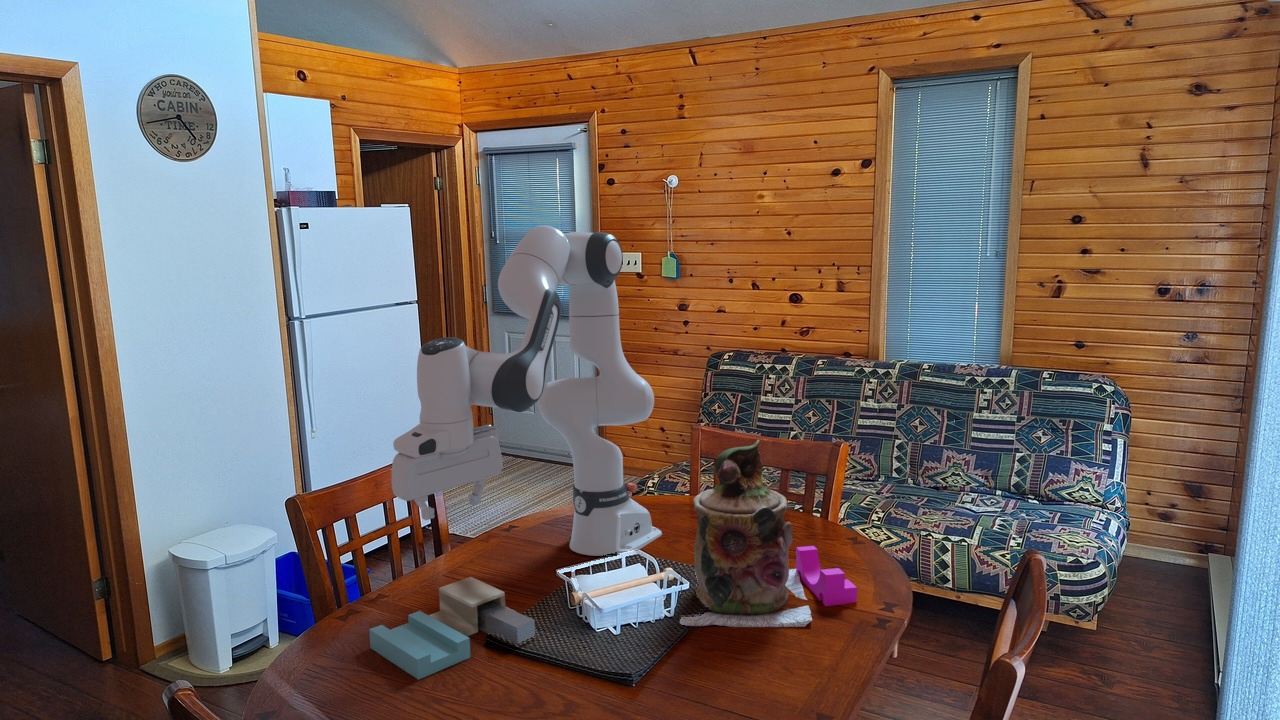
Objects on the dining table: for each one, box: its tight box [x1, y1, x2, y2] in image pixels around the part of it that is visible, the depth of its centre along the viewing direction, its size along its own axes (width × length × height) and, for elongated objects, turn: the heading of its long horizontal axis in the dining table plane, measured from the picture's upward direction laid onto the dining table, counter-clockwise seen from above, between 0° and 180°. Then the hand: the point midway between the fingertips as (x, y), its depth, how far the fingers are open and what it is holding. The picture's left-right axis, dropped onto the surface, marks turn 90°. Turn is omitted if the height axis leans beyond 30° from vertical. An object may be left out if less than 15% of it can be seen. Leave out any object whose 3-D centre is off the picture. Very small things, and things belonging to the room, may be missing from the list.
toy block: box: [795, 545, 858, 607], centre depth 163 cm, size 15×6×8 cm, turn 11°
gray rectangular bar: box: [477, 601, 536, 643], centre depth 153 cm, size 4×22×4 cm, turn 48°
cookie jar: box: [679, 439, 813, 628], centre depth 159 cm, size 25×25×32 cm
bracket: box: [428, 576, 517, 637], centre depth 156 cm, size 12×11×6 cm
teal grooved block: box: [368, 610, 471, 681], centre depth 143 cm, size 10×16×4 cm, turn 46°
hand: (452, 511), depth 144 cm, fingers open, 8 cm apart
